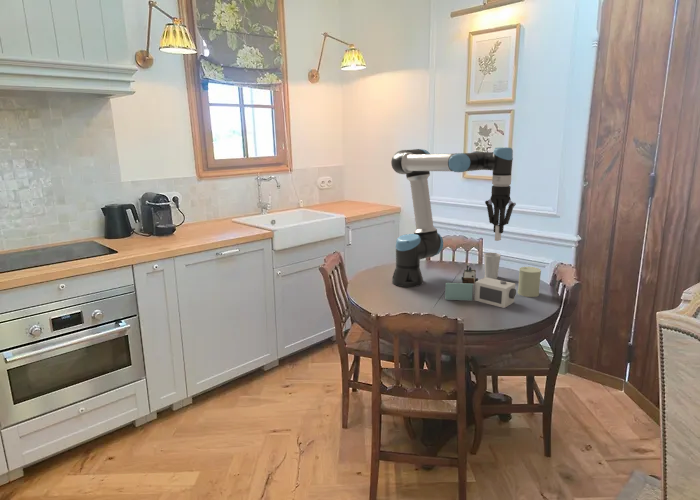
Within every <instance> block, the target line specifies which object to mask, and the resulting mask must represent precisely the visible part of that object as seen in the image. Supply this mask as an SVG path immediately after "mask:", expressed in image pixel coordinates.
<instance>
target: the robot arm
mask: <svg viewBox="0 0 700 500" xmlns="http://www.w3.org/2000/svg"><path fill="white" fill-rule="evenodd" d="M513 153H514V151H513V148H512V147H495V148H494V149H493V152H491V151H489V152H488V151H472V152H461V153H460V152H458V153H457V152H456V153H430V152H429V151H427V150H426V149H423V148H413V149H401V150H399V151H396V152H395V153H394V154H393V155H392V158H391V162H390V163H391V168H392V169H393V170H394V172H395V173H397V174H399V175H405V176H406V180H408V181H409V182H410V183H409V184H410V190H411V199H412V206H413V207H412V208H413V214H414V221H415V230H414V231H413V233H409V234H408V233H407V234H403V235H400V236H398V237H397V238H396V242H395V268H394V272H393V274H392V281H391V282H392V284H393V285H395V286H397V287H398V286H399V287H404V288H415V287H419V286H421V285H423V283H424V277H423V275H422V271H421V268H420V265H421V264H420V263H421V261H420V260H423V259H427V258H432V257H435V256H437V255H439V254H440V253H441V252H442V251H443V248H444V239H443V237H442V236H441V234H440V233H438V229H437V228H436V227H435V226H434V221H433V219H434V218H433V212H432V205H431V197H430V190H429V182H428V179H429V177H430V176H431V173H430V172H453V173H464V172H465V173H466V172H474V171H492V178H491V181H492V182H491V196H490V198H489V199H488V200H485V201H484V203H485V206H486V209H487V214H488V215H487V216H488V220H489V221H488V222H489V224H491V225H493V233H494V241H496V242H497V241H501V240H502V234H503V233H504V226H505V225H509V223H510V219H511V217H512V214H513V210H514V207H515V206H516V205H517V204H516V202H514V201H513V200H512V199H511V185H512V169H513V160H514V157H513V156H514V154H513ZM507 206H508V207H507ZM506 209H507V210H506Z"/></svg>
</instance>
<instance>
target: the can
mask: <svg viewBox="0 0 700 500" xmlns="http://www.w3.org/2000/svg"><path fill="white" fill-rule="evenodd" d="M518 272H519V273H518V286H517V295H520V296H522V297H527V298H537V297H539V295H540V285H541V273H542V270H541V268H539V267H535V266H522V267H519V271H518Z"/></svg>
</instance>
